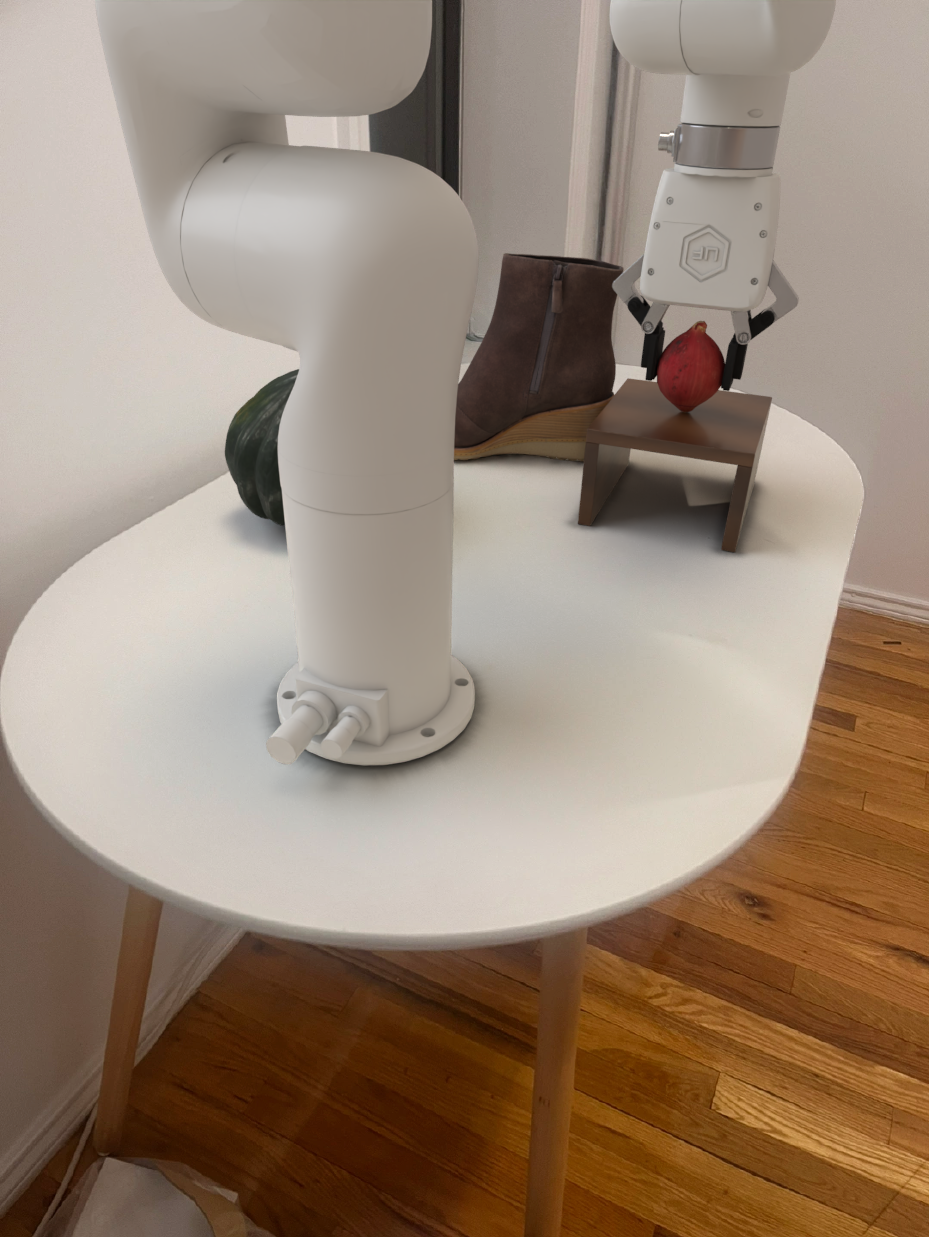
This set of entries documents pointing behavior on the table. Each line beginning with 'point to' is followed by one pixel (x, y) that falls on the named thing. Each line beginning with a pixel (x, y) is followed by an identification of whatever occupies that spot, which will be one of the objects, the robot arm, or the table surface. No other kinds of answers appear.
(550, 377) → the boot
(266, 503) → the squash
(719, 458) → the walnut shelf
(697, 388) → the onion
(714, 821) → the table surface
